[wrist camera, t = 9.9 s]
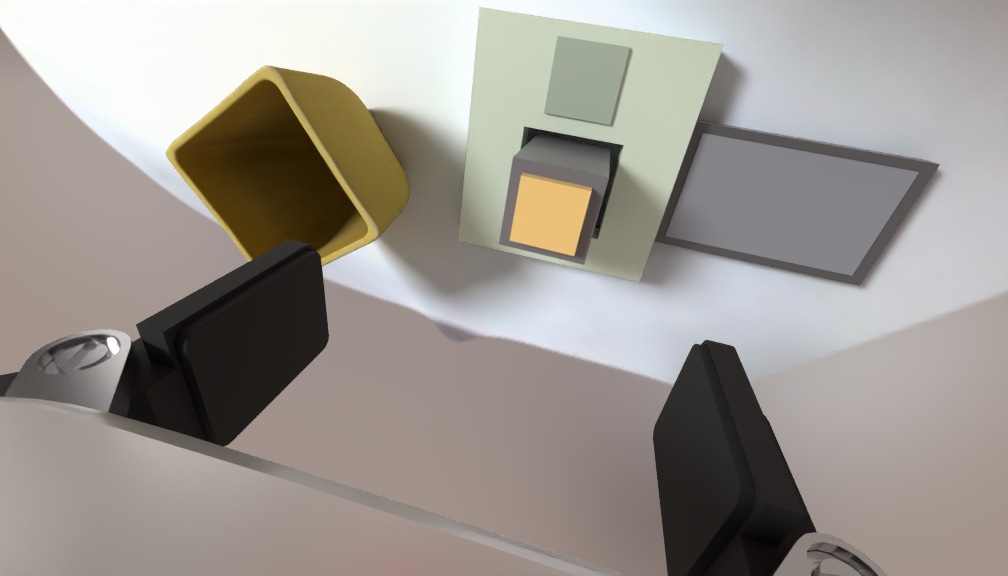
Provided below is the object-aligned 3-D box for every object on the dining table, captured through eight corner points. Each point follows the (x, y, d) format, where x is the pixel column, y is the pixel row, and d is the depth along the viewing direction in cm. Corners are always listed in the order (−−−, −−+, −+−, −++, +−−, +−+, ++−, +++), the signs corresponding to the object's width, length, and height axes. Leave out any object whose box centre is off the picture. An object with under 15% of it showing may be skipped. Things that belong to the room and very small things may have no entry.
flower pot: (444, 190, 28) (381, 238, 20) (353, 237, 32) (269, 293, 24) (372, 61, 25) (267, 60, 18) (280, 128, 29) (159, 151, 21)
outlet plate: (489, 11, 23) (478, 6, 21) (714, 46, 21) (724, 44, 19) (467, 230, 29) (457, 241, 27) (637, 268, 28) (639, 283, 26)
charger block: (538, 133, 25) (510, 159, 18) (610, 148, 25) (609, 180, 18) (525, 202, 27) (495, 248, 20) (591, 217, 27) (583, 269, 20)
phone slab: (689, 118, 23) (693, 120, 22) (926, 160, 21) (941, 164, 20) (649, 234, 26) (650, 240, 25) (850, 277, 25) (860, 286, 24)
